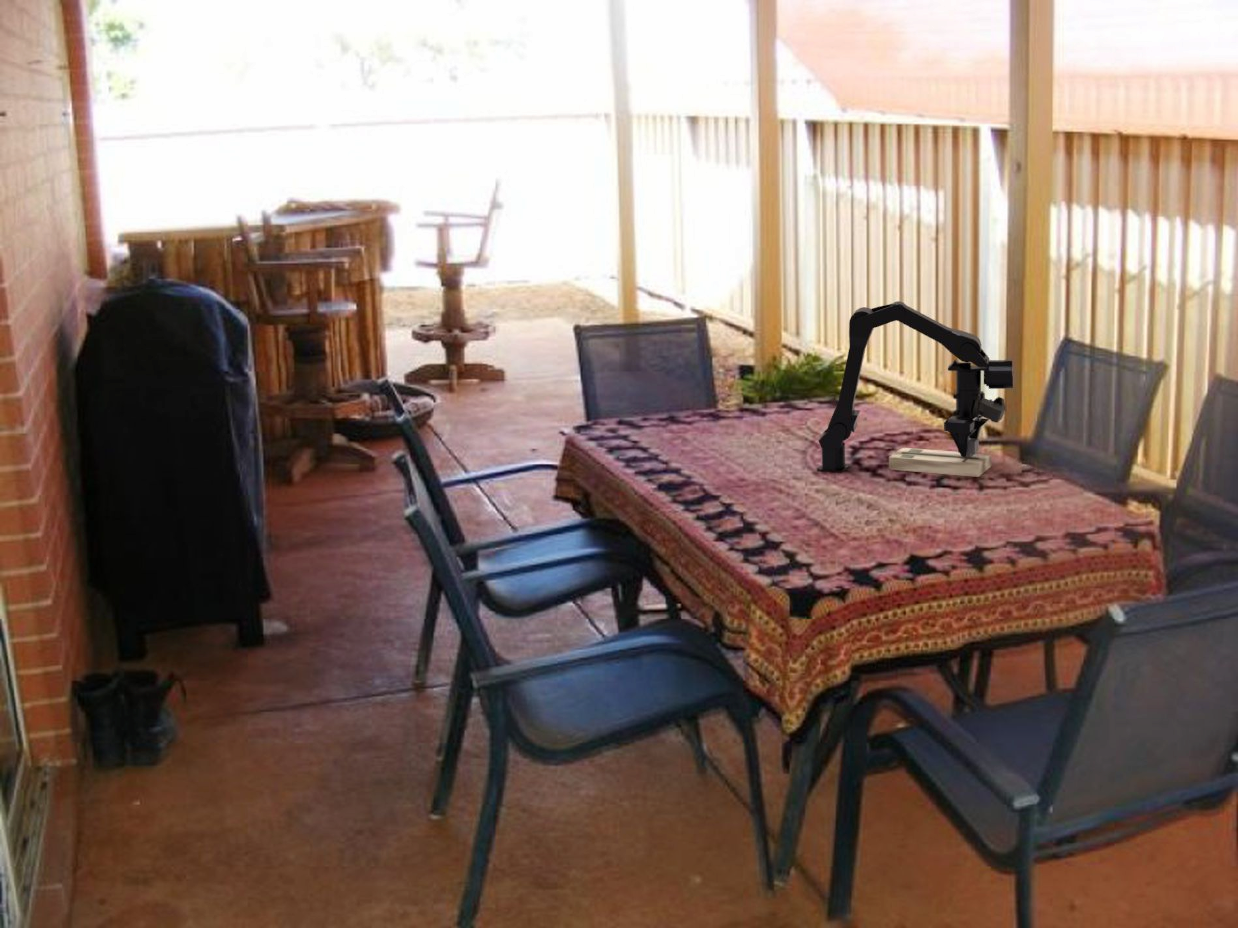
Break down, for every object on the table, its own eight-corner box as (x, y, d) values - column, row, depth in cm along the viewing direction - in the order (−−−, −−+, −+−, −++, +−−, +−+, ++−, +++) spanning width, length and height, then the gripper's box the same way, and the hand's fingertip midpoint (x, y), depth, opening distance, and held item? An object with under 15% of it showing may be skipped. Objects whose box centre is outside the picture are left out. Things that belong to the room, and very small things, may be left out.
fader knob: (974, 458, 356) (974, 441, 355) (958, 457, 358) (958, 440, 357) (978, 455, 359) (978, 438, 358) (962, 454, 361) (962, 437, 360)
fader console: (978, 476, 353) (978, 463, 353) (888, 469, 364) (888, 456, 363) (991, 466, 362) (991, 453, 361) (903, 459, 373) (902, 447, 372)
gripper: (990, 398, 343) (990, 465, 347) (1013, 382, 358) (1013, 446, 362) (943, 396, 348) (943, 461, 352) (967, 380, 364) (967, 443, 368)
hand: (968, 453), depth 358 cm, fingers open, 7 cm apart
